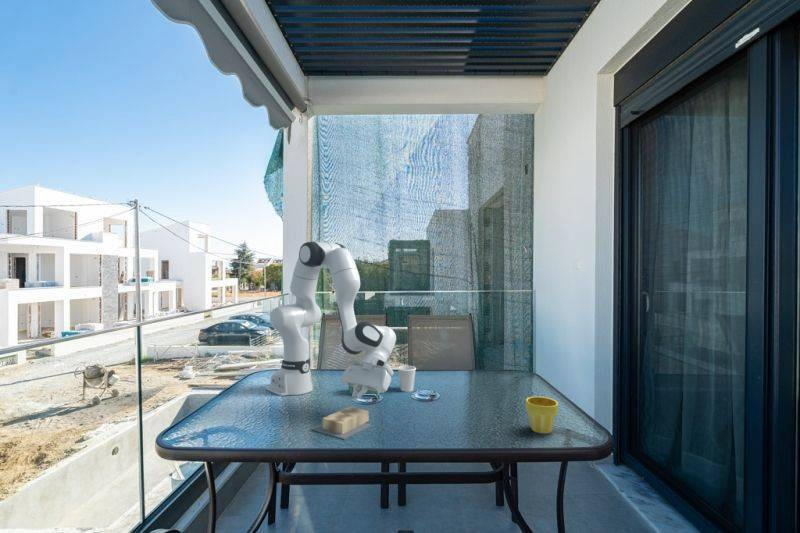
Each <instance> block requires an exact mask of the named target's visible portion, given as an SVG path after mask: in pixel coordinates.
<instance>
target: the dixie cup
mask: <svg viewBox="0 0 800 533" xmlns="http://www.w3.org/2000/svg"><path fill="white" fill-rule="evenodd" d="M416 370H417V368H416V366H414V365H400V366H398V367H397V371H398V379H399V388H400V391H401V392H404V393H406V392H407V393H410V392H413V391H414V385H415V378H416Z"/></svg>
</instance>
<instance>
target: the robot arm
mask: <svg viewBox="0 0 800 533" xmlns="http://www.w3.org/2000/svg"><path fill="white" fill-rule="evenodd" d="M298 252H299V253H298V258H297V261H296V263H295V265H294V269H293V272H292V278H291V283H290V286H289V290H290V292H291V294H292V295H293V296H294V297H295V303H294V304H292V303H291V304H283V305H280V306H278V307H275V308H273V309H271V312H270V314H269V322H270V325H271V326H272V328H273V329H275V330H276V331H277V332H278V333H279V335H280V336H281V339H282V344H283V359H282V360H280V361H279V362H280V363H279V364H281V367H279V369H278V370H276V371H275V372H274V373H272V375H271V377H270V384H268V385H266V386H264V388H265V390H266V391H269V392H271V393H273V394H276V395H278V396H280V397H281V396H282V397H283V396H297V395H305V394H308V393H310V392H312V391H313V390H314V383H313V380H312V373H311V368H310V367H311V358H310V342H309V340H308V339H307V337H304V336H303V335H302V332H301V328H308V327H312V326H314V325H316V324H318V323H319V322H320V320H321V318H322V311H321V308H320V306H319V305H318V304H317V302H316V290H317V286H318V281H319V276H320V272H321V269H325V268H328V271H329V274H330V277H331V280H332V282H331V283H332V285H333V289H334V293H335V294H334V295H335V300H336V307H337V313H338V318H339V321H340V326H341V338H340V339H341V340H340V341H341V342H340V343H341V345H342V346H341V347H342V348H343V350H345V352H346V353H348V354H350V355H359V354H361V353H362V352H363V351H365V353H364V356H363V357H362V360H361V361H360V362H355V361H353V363H350V364H348V366H347V367H346V369H345V370H344V371H343V372H342V374H341V375H340V382H342V384H343V385H346V386H348V387H349V386H354V392H353V394H351V397H352V398H353V399H358V400H361V399H362V396H364V395H363V394H365V393H366V392H367V390H373V391H378V392H381V393H382V394H383V393H386V392H387V391H388V389H389V387H390V384H391V382H392V377H393V376H394V372H395V371H393V369H392V368H391V366H390V365H389V364H388V363H387V362H388V358H389V357H390V356H391V354H392V352H393V350H394V347H395V345H396V342H397V335H396V333H395V331H394V330H393V329H392V328H390V327H389V326H385V325H383V326H382V325H376V324H373V323H372V322H370V321H366V320H363V321H360V322H359V323H357V318H356V313H355V311H354V310H355V309H354V308H355V307H354V305H355V304H354V303H355V299H356V297H357V295H358V293H359V290H360V287H361V277H360V273H359V271H358V270H359V269H358V267H357V264H356V262H355V260H354V257H353V256H352V254H351V251H350V250H349V249H347V248H346V247H345V245H343V244H341V243H339V242H330V241H307V242H304V243H302V245H301V246H300V248H299V251H298ZM360 388H362V390H360V391H359V392H358V390H359V389H360Z"/></svg>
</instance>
